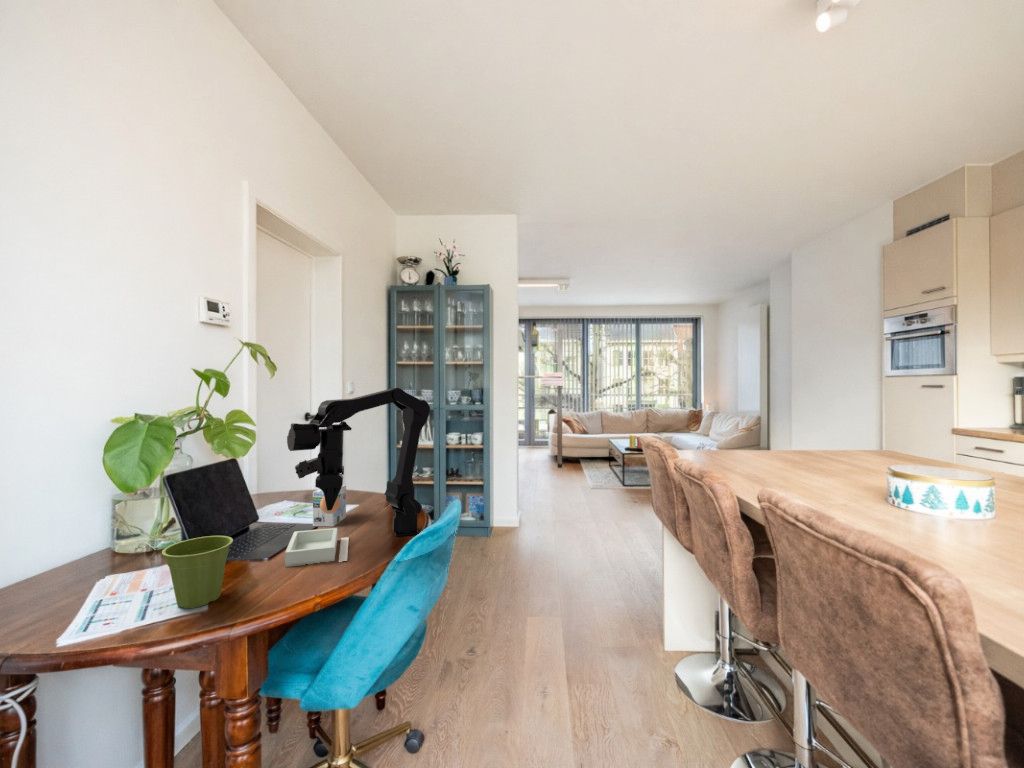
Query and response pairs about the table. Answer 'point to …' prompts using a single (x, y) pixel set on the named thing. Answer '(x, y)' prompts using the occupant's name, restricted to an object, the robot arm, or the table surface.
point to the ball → (334, 509)
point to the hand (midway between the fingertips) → (330, 507)
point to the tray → (311, 547)
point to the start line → (343, 549)
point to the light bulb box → (324, 518)
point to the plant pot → (197, 569)
